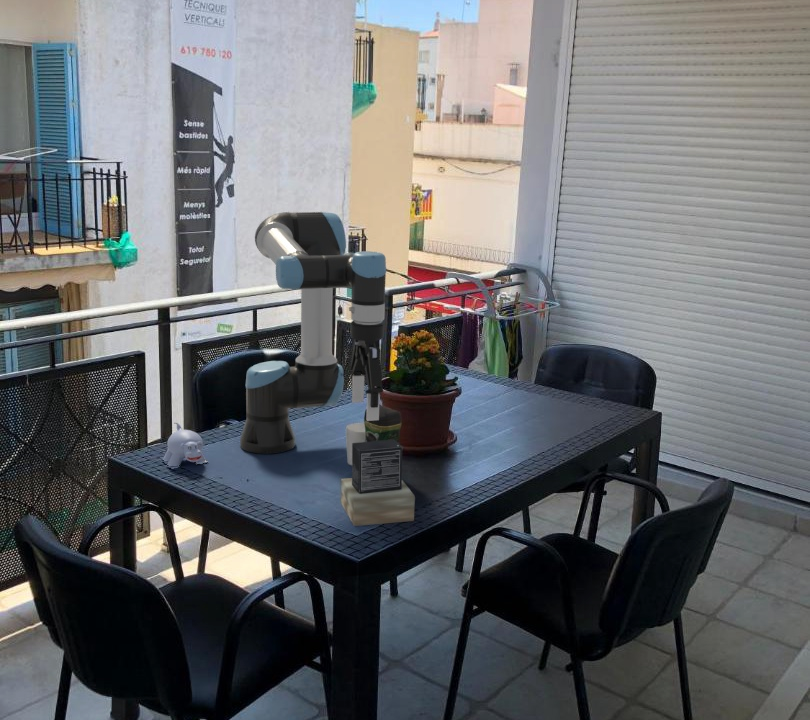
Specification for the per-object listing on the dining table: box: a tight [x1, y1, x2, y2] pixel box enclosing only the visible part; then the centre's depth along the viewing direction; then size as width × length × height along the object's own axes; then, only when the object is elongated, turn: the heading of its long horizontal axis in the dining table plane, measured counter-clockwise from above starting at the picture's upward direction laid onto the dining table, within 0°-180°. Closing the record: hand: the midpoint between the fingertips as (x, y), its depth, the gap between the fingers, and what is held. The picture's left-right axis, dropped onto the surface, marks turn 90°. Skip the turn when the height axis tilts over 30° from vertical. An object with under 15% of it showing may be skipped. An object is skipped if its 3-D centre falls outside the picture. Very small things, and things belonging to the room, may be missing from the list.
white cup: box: [345, 422, 365, 467], centre depth 247 cm, size 8×8×10 cm
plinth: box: [340, 477, 416, 527], centre depth 216 cm, size 14×14×6 cm
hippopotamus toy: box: [162, 422, 209, 466], centre depth 243 cm, size 11×15×10 cm
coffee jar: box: [363, 403, 402, 444], centre depth 237 cm, size 10×8×19 cm
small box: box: [351, 439, 404, 494], centre depth 214 cm, size 11×6×10 cm, turn 109°
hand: (364, 411), depth 215 cm, fingers open, 13 cm apart
